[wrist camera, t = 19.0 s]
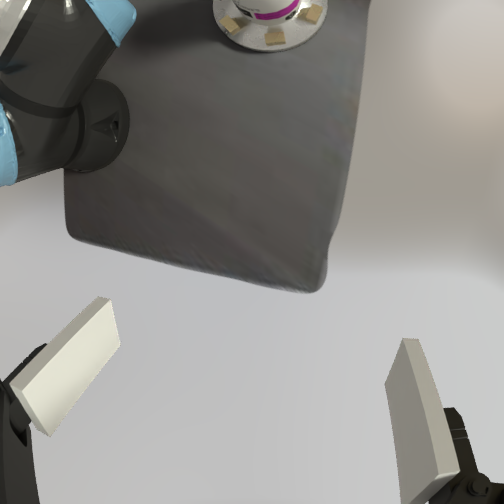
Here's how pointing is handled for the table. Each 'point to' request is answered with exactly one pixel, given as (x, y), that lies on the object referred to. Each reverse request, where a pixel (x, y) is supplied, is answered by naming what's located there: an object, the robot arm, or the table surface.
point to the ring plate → (270, 36)
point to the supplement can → (268, 10)
